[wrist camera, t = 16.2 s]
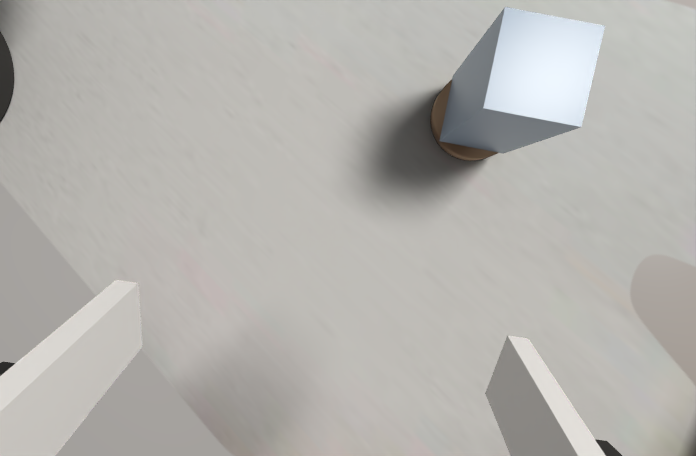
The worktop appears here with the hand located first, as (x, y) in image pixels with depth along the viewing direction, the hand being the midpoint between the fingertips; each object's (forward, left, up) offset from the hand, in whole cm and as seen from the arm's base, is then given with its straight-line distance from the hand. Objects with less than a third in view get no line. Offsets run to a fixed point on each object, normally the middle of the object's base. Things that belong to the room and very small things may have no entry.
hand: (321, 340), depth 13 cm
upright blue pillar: (+1, +18, -22) cm, 28 cm away
